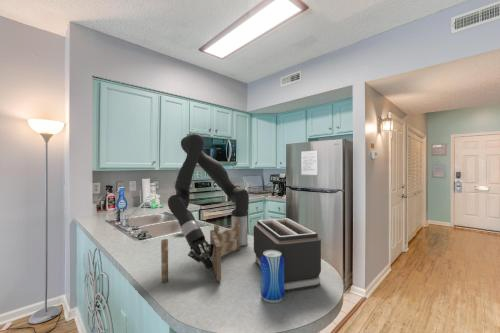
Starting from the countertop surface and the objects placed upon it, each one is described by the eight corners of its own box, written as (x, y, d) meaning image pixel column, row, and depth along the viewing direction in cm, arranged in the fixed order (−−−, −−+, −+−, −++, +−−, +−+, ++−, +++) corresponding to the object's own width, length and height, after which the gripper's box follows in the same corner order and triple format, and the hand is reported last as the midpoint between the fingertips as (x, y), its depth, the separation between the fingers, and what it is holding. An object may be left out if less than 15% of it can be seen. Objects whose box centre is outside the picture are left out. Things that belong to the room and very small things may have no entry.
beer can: (259, 291, 89) (259, 249, 89) (281, 290, 90) (281, 248, 89) (262, 305, 81) (262, 258, 80) (286, 303, 81) (286, 257, 81)
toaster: (286, 254, 126) (286, 215, 126) (324, 286, 93) (324, 234, 92) (251, 258, 121) (251, 218, 120) (278, 294, 87) (278, 239, 87)
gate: (210, 258, 118) (209, 230, 118) (214, 257, 119) (213, 230, 118) (216, 281, 95) (216, 246, 95) (221, 280, 95) (221, 246, 95)
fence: (237, 248, 134) (236, 218, 133) (240, 249, 132) (240, 219, 132) (160, 281, 97) (159, 240, 97) (163, 283, 95) (163, 241, 95)
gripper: (183, 231, 99) (202, 269, 91) (208, 225, 109) (226, 259, 101) (176, 240, 102) (193, 278, 94) (200, 234, 112) (217, 267, 105)
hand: (210, 268), depth 98 cm, fingers closed
